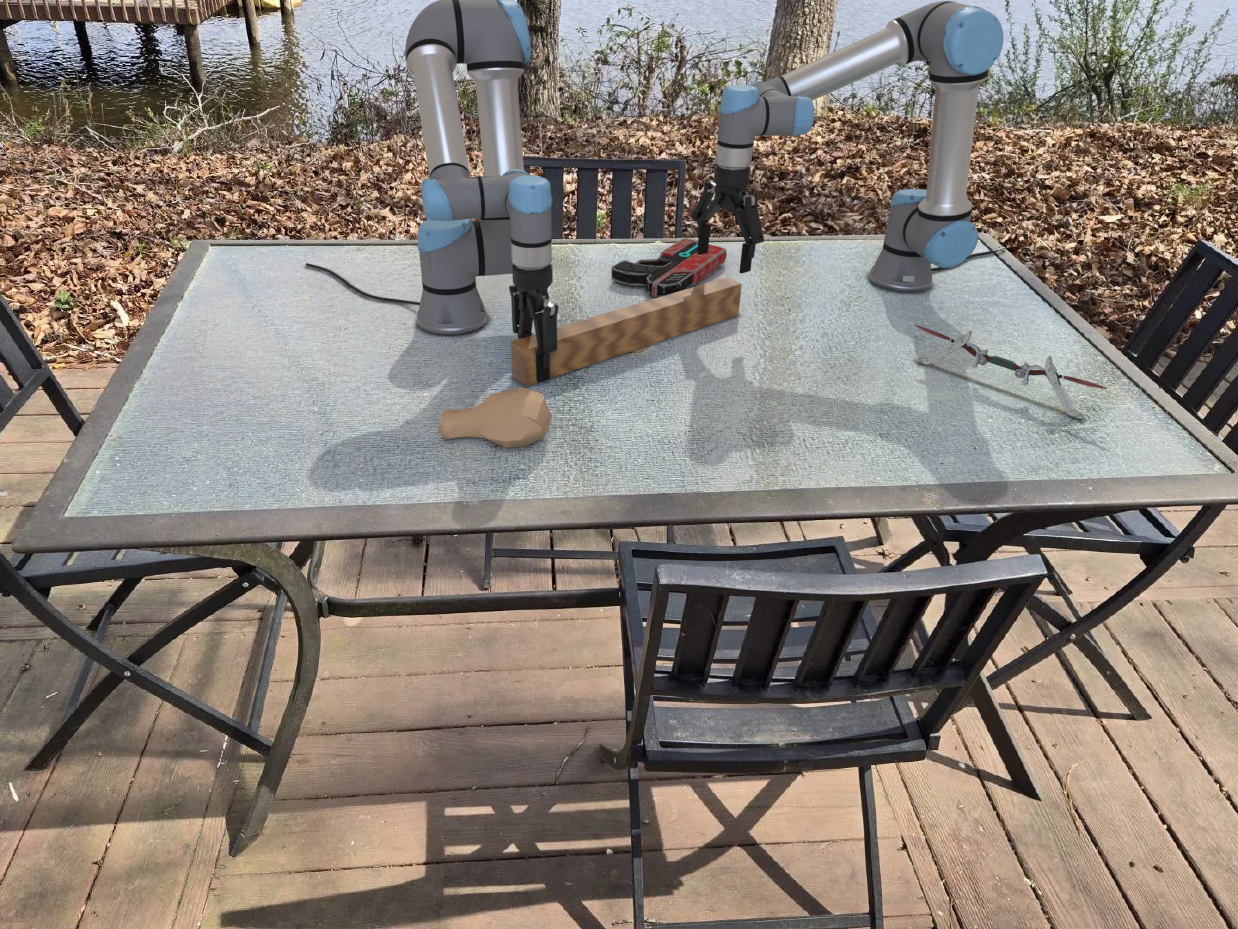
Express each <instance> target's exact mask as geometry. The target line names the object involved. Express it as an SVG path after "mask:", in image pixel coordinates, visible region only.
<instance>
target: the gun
mask: <svg viewBox="0 0 1238 929" xmlns="http://www.w3.org/2000/svg"><path fill="white" fill-rule="evenodd" d="M697 250H698V241H695V239H692V238H687V237H686V238H682V239H680V240H678V241H677V242H675V243H673V244H672V245H669V247H666V248H665V249H663V250H661V252H660V254H659V256H658V258H652V259H651V258H649V259H639V260H636V262H631V261H629V260H626V259H623V260H621V261H620V262H617V263H616V264H613V265H612V266H611V276H610V279H611V280H612V281H614V282H616V283H619V284H623V285H627V286H637V287H640V286H641V287H642V286H643V287H645V291H646V292H647V294H648V295H651V297H654V298H659V297H662V296H665V295H669V294H672V293H675V292H679V291H682V290H686V289H689V288H691V286H695V285H696V284H698V283H699V282H701V281H702V280H704V279H705V278H707V277H708V276H709V275H710V274H712V273H714V271H716V270H717V269H718V268H720V267H721V266H722V265H723V264H724V263H726V259H727V256H728V254H727V248H725V247H722V246H718V245H713V244H710V243H709V248H708V253H705V254H701V255H698V254H697Z"/></svg>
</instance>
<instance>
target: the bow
mask: <svg viewBox="0 0 1238 929" xmlns="http://www.w3.org/2000/svg"><path fill="white" fill-rule="evenodd" d="M914 326H915V327H916V328H918V329H920V330H921V331H924V333H925V332H926V333H928V334H930V335H932V336H935V337H937V338H940V339H943V340H946V341H949V342H950V343H951V345H949V346H945V347H943V348H941V349H939V350H937V351H935V352H934V353H933V354H931V355H930V356H927V357H923V356H918V357H917V358H916V361H917V362H918V363H920V364H922V365H929V366H931V367H934V368H937V369H940V370H943V371H946V372H949V373H952V374H954V375H957V376H960V377H963V378H966V379H969V380H971V381H973V382H976V383H979V384H983V385H985V386H988V387H991V388H993V389H997V390H999V391H1003V392H1005V393H1009V394H1010V395H1014V396H1016V397H1019V398H1022V399H1025V400H1027V401H1030V402H1033V403H1037V404H1040V405H1042V406H1045V407H1048V408H1050V409H1054V410H1056V411H1059V412H1062V413H1063V414H1064V413H1065V414H1067V415H1069V416H1070V417H1072V418H1075V419H1079V420H1082V419H1083V418H1085V416H1086V415H1085V414H1083V413H1082V412H1080V411H1079V410H1078V409H1076V408H1075V407H1074V405H1073V402H1072V399H1071V396H1070V395H1069V393H1068V391H1067V390H1066V388H1065V386H1064V385H1062V382H1061V380H1060V379H1062V378H1063V379H1064V380H1066V381H1069V382H1072V383H1076V384H1078V385H1082V386H1087V387H1090V388H1096V389H1103V390H1107V389H1108V387H1106V386H1103V385H1101V384H1097V383H1095V382H1091V381H1089V380H1084V379H1081V378H1078V377H1073V376H1070V375H1069V376H1068V375H1062V374H1059V372H1058V369H1057V367H1056V366H1055V364H1054V362H1053V358H1052V355H1048V356H1047V357H1046V359H1045V363H1044V367H1043V366H1040V365H1039V364H1033V365H1030V363H1028V362H1027V361H1025V362H1024V363H1023V364H1021V365H1018V364H1017V363H1016V362H1014V360H1010V359H1007V358H1004V357H1001V356H998V355H989V349H987V348H986V349H981V348H980V347H979V346H978V345H976V343H975V344H974V343H968V342H969V341H970V340H971V337H972V333H973V330H969V331H967V332H966V333H965V334H964V335H962V336H960V337H958V338H957V339H954V338H951V337H949V336H947V335H945V334H943V333H941V332H938V331H935V330H933V329H929V328H928V327H924V326H922V325H917V324H914ZM963 349H964V350H965V351H967V352H968V353H969V354H970V355H972V356H973V357H974V358H975V359H974V361H973V362H972V365H971V368H972V369H976V368H978V365H980V366H983V367H985V365H987V364H988V363H990V364H992V365H995V366H998V367H1002V368H1005V369H1007V370H1010V371H1014V376H1015V377H1016V378H1018V379H1022V381H1021V382H1022V383H1021V386H1024V387H1027V386H1028V385H1029V381H1030V378H1029V377H1030V376H1045V378H1047V380H1048V382H1049V383H1050V386H1051V387H1052V388H1053V390H1054V392H1055V395H1056V397H1057V398H1058V400H1059V403H1060V405H1061V407H1062V408H1063V410H1062V409H1059V408H1056V407H1053V406H1050V405H1047V404H1044V403H1042V402H1040V401H1036V400H1033V399H1030V398H1027V397H1025V396H1022V395H1019V394H1016V393H1013V392H1011V391H1007V390H1005V389H1002V388H999V387H996V386H994V385H991V384H988V383H985V382H982V381H979V380H976V379H974V378H971V377H969V376H966V375H962V374H959V373H957V372H953V371H951V370H948V369H945V368H942V367H940V366H937V365H934V364H933V363H936V362H939V361H941V360H943V359H944V358H946V357H948V356H949V355H951V354H953V353H955V352H958V351H960V350H963Z"/></svg>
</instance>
